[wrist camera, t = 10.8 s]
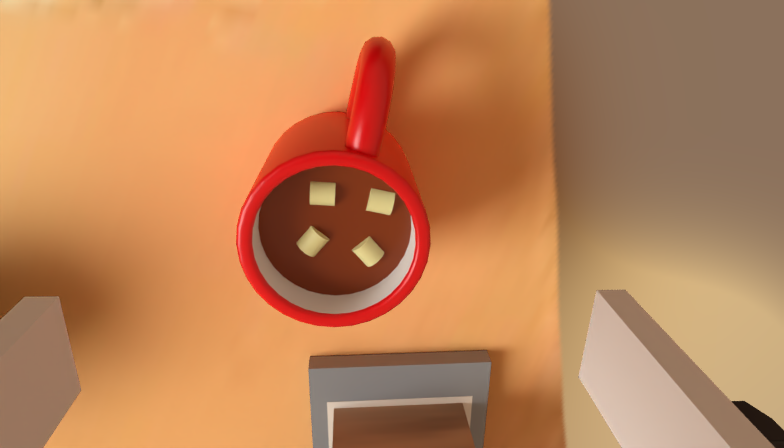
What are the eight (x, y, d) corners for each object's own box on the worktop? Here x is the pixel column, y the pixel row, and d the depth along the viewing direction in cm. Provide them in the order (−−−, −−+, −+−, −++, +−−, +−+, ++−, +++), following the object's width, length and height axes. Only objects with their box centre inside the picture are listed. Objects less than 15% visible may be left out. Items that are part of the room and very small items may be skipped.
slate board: (309, 356, 33) (308, 369, 32) (486, 350, 34) (491, 362, 33) (319, 520, 38) (318, 536, 37) (471, 511, 39) (475, 527, 38)
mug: (448, 49, 27) (485, 67, 20) (392, 262, 31) (405, 341, 24) (290, 9, 26) (266, 13, 18) (254, 237, 30) (223, 312, 23)
